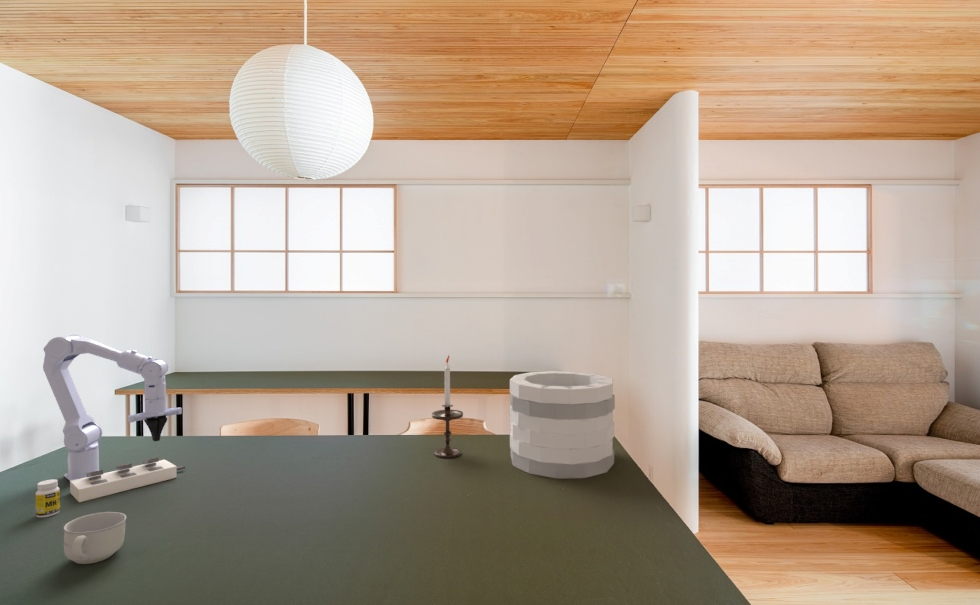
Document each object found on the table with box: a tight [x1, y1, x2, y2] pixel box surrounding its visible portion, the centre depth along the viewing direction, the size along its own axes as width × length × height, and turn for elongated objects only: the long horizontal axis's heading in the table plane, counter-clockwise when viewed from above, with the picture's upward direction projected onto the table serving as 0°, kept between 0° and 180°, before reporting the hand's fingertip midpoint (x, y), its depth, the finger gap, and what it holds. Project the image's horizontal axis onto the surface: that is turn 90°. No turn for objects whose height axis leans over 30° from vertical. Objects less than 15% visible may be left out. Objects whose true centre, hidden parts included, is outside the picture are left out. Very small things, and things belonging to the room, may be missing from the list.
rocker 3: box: [142, 457, 160, 465], centre depth 159 cm, size 5×3×1 cm, turn 50°
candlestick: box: [431, 355, 464, 459], centre depth 180 cm, size 11×11×35 cm
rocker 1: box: [86, 469, 104, 477], centre depth 148 cm, size 5×3×1 cm, turn 50°
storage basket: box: [509, 370, 616, 479], centre depth 173 cm, size 35×35×27 cm
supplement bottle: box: [35, 478, 61, 519], centre depth 133 cm, size 5×5×8 cm
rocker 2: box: [115, 463, 133, 471], centre depth 153 cm, size 5×3×1 cm, turn 50°
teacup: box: [63, 511, 127, 565], centre depth 110 cm, size 14×11×8 cm
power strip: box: [69, 459, 186, 503], centre depth 154 cm, size 10×28×4 cm, turn 140°
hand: (156, 440), depth 164 cm, fingers closed
